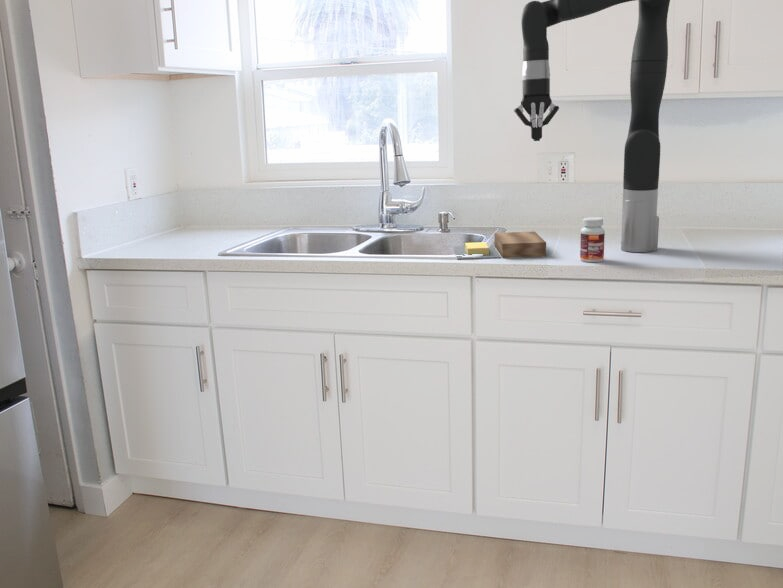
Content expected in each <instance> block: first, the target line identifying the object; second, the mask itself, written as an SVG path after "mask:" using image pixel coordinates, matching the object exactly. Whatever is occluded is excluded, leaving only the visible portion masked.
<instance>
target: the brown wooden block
mask: <svg viewBox="0 0 783 588" xmlns="http://www.w3.org/2000/svg"><path fill="white" fill-rule="evenodd" d="M494 247H495V249H496V250H497V252H498V253H499V255H500V256H501V258H502V259H510V258H515V259H516V258H536V257H537V258H538V257H540V258H541V257H547V242H546V240H544V238H542V237H541V236H540V235H539V234H538V233H537V232H536V231H514V232H513V231H512V232H511V231H509V232H508V231H507V232H494Z"/></svg>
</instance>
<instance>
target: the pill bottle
mask: <svg viewBox="0 0 783 588" xmlns="http://www.w3.org/2000/svg"><path fill="white" fill-rule="evenodd" d="M603 225H604V218H603V217H599V216H598V217H596V216H588V217H584V218H583V219H582V226H584V227H582V228H581V229H580V244H579V245H580V250H579V251H580V252H579V259H580V261H582V262H583V263H584V262H586V263H600V262H602V261H604V260H605V258H604V257H605V235H606V232H605V229H604V228H603Z"/></svg>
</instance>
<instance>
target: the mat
mask: <svg viewBox="0 0 783 588" xmlns="http://www.w3.org/2000/svg"><path fill="white" fill-rule="evenodd" d="M490 245H491V246H490V247H489V255H483V256H481V257H475V258H473V257H462V256H456V255H463V256H465V255H464V254H467V253H466V251H465V245H458V246H457V245H455V246H452V248H453V251H454V253H455V256H456V259H457V260H478V259H479V260H480V259H501V258H502V256H501V255H500V253H499V252H498V250H497V249H496V247H495V245H493V244H490Z"/></svg>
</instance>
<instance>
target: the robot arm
mask: <svg viewBox="0 0 783 588" xmlns="http://www.w3.org/2000/svg"><path fill="white" fill-rule="evenodd" d="M632 1H636V0H546V1H539V0H532V1H530V2H528V3H526V4H525V5H524V7H522V11H521V16H520V20H521V21H520V22H521V32H522V41H523V42H522V43H523V48H522V62H523V64H522V73H521V74H522V75H521V76H522V99H521V101H520V104H519V106H517V107H515V108H514V109H513V112H514V113H515V115H516V116H517V117H518V119H519V120H520V121H521V122H522V123H523V124H524V125H525V126H526V127H527V126H528V127H530V136H531V137H530V139H532V140H533V141H534V142H540V141H541V140H540V139H542V138H543V127H544V126H547V125H549V124H550V122H551V121H552V119H553V118H554V117H555V115H556V114H557V112H558V111H559V109H560V106H559V105H556V104H554V103H553V102H552V98H551V89H550V88H551V84H550V83H551V79H550V78H551V69H550V60H549V58H550V55H549V53H550V49H549V48H550V47H549V46H550V45H549V41H548V38H547V37H548V34H547V31H548V28H549V27H552V26H555V25H558V24H559V23H563V22H567V21H572V20H576V19H579V18H583V17H586V16H589V15H590V16H591V15H592V14H596V13H598V12H600V11H603V10H606V9H608V8H611V7H613V6H617V5H620V4H624V3H628V2H632ZM637 1H638V20H637V27H636V28H637V29H636V33H635V37H634V41H633V47H632V53H631V54H632V55H631V63H630V75H629V76H630V77H629V80H630V81H629V89H630V90H629V91H630V92H629V93H630V105H631V107H630V108H631V112H630V121H629V128H628V132H627V133H628V134H627V138H626V140H625V144H624V152H623V153H624V154H623V155H624V156H623V175H622V176H623V183H622V184H623V185H622V187H623V189H622V213H621V214H622V215H621V235H620V236H621V240H620V249H621V251H624V252H630V253H632V252H633V253H651V252H653V251H655V252H656V251H659V250H658V248H659V247H658V244H659V231H660V230H659V227H660V226H659V225H660V217H659V216H658V197H659V196H658V195H659V181H660V180H659V179H660V165H661V141H660V134H659V133H660V130H659V125H660V123H659V119H660V116H659V115H660V108H661V104H662V100H663V94H664V91H665V85H666V80H667V72H668V71H667V69H668V59H669V58H668V57H669V41H668V39H669V38H668V28H667V27H668V15H669V7H670V3H671V0H637ZM548 109H549V112H548V114H547V115H546V116H545V117H544V115H545V113H547V110H548ZM524 111H525V112H526V114H528V115H529V116H528V117H529V119H528V117H526V116H525V114H524Z"/></svg>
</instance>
